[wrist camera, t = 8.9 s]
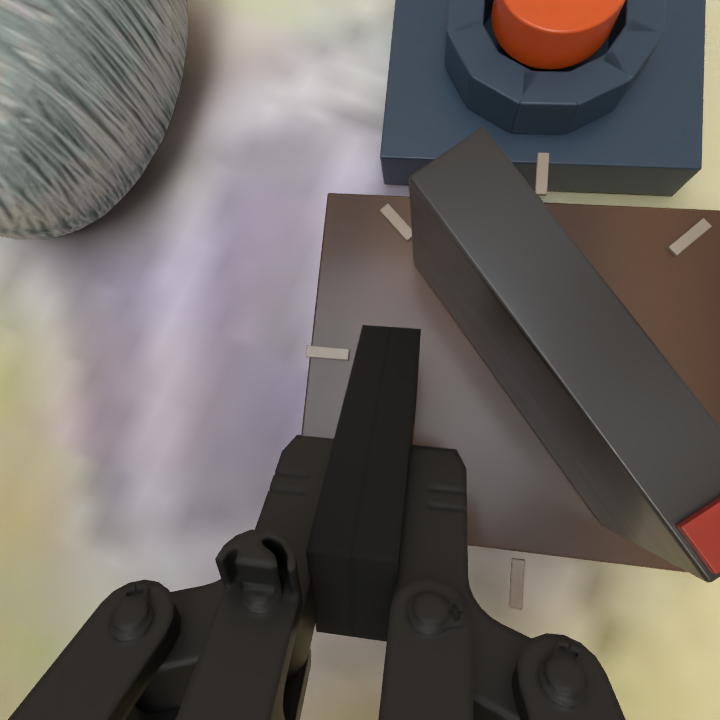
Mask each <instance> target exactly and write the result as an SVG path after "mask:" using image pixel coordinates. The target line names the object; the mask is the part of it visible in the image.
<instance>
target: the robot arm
mask: <svg viewBox="0 0 720 720" xmlns="http://www.w3.org/2000/svg"><path fill="white" fill-rule="evenodd" d="M420 337H421V329H414V328H400V327H386V326H371V325H363V326H362V330H361V333H360V337H359V341H358V345H357V349H356V353H355V357H354V361H353V365H352V369H351V373H350V377H349V381H348V385H347V389H346V393H345V397H344V401H343V405H342V409H341V413H340V417H339V421H338V425H337V429H336V433H335V437H334V439H333V438H322V437H312V436H302V435H297V436H296V437H295V438H294V439H293V440H292V441H291V442H290V443H289V444H288V446H287V447H286V448H285V449H284V450H283V451H282V453H281V456H280V459H279V462H278V465H277V468H276V470H275V475H274V476H273V479H272V482H271V485H270V490H269V491H268V494H267V496H266V499H265V502H264V505H263V508H262V511H261V514H260V517H259V520H258V522H257V525H256V528H255V530H249V531H247V532H244V533H242V534H239V535H236V536H235V537H234V538H233V539H231V540H230V541H229V542H228V543H226V544H225V545H224V546H223V548H222V549H221V551H220V552H219V554H218V556H217V557H216V559H215V560H216V563H217V566H218V569H219V572H220V576H221V579H220V580H218V581H217V582H214V583H211V584H208V585H204V586H200V587H195V588H189V589H184V590H179V591H174V592H170V591H169V590H168V589H167V588H166V587H164V586H163V585H162V584H160V583H159V582H155V581H149V580H141V581H136V582H131V583H128V584H126V585H124V586H122V587H121V588H119V589H117V590H115V591H114V592H112V593H111V594H110V595H109V596H108V597H107V598H106V599H105V600H104V601H103V602H102V603H101V604H100V605H99V607H98V608H97V609H96V610H95V612H94V613H93V614H92V615H91V617H90V618H89V619H88V620H87V622H86V623H85V624H84V625H83V627H82V628H81V629H80V630H79V632H78V633H77V634H76V635H75V637H74V638H73V639H72V640H71V642H70V643H69V644H68V645H67V647H66V648H65V649H64V650H63V652H62V653H61V654H60V655H59V657H58V658H57V659H56V660H55V662H54V663H53V664H52V665H51V667H50V668H49V669H48V670H47V672H46V673H45V674H44V675H43V677H42V678H41V679H40V680H39V682H38V683H37V684H36V685H35V687H34V688H33V689H32V690H31V692H30V693H29V694H28V695H27V697H26V698H25V699H24V700H23V702H22V703H21V704H20V705H19V707H18V708H17V709H16V710H15V712H14V713H13V714H12V715H11V717H10V718H9V719H8V720H300V716H301V711H302V706H303V701H304V696H305V691H306V686H307V681H308V676H309V671H310V666H311V649H310V645H311V640H312V635H313V631H314V626H315V623H316V631H317V632H323V633H330V634H337V635H344V636H351V637H358V638H366V639H373V640H380V641H387V646H386V655H385V664H384V674H383V683H382V692H381V702H380V711H379V720H626V719H625V717H624V715H623V712H622V710H621V708H620V705H619V703H618V700H617V698H616V696H615V693H614V691H613V689H612V686H611V684H610V682H609V679H608V677H607V674H606V673H605V671H604V669H603V668H602V666H601V664H600V663H599V661H598V660H597V658H596V656H595V655H593V654H592V653H591V652H590V651H589V650H588V649H587V648H586V647H585V646H583V645H582V644H581V643H580V642H577V641H575V640H573V639H571V638H569V637H567V636H565V635H558V634H548V633H546V634H543V635H540V636H538V637H535V638H530V637H527V636H525V635H523V634H521V633H519V632H517V631H515V630H513V629H511V628H509V627H507V626H504V625H502V624H501V623H499V622H498V621H496V620H494V619H493V618H491V617H490V616H489V615H488V614H487V613H486V612H485V611H484V610H483V609H481V607H480V606H479V604H478V603H477V601H476V600H475V599H474V597H473V594H472V592H471V589H470V587H469V580H468V552H467V469H466V467H465V465H464V463H463V461H462V459H461V457H460V455H459V453H458V451H457V449H451V448H440V447H430V446H419V445H412V444H413V433H414V423H415V412H416V399H417V383H418V368H419V353H420Z"/></svg>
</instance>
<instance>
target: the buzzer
mask: <svg viewBox="0 0 720 720" xmlns="http://www.w3.org/2000/svg"><path fill="white" fill-rule="evenodd" d="M705 4H706V0H626V1H625V3H624V5H623V7H622V9H621V11H620V14H619V16H618V18H617V20H616V22H615V24H614V26H613V28H612V30H611V33H610V35H609V36H608V38H607V40H606V41H605V43H604V44H603V45H602V46H601V48H599V49H598V50H597V51H596V52H595V53H594V54H593V55H591V56H590V57H589V58H587V59H586V60H584V61H582V62H580V63H578V64H575V65H573V66H570V67H566V68H561V69H550V70H548V69H538V68H533V67H530V66H527V65H524V64H522V63H520V62H518V61H517V60H515V59H513V58H512V57H511V56H510V55H508V54H507V53H506V52H505V51H504V49H503V48H502V47H501V46H500V44H499V43H498V41H497V39H496V37H495V34H494V31H493V28H492V21H491V13H492V6H493V0H396V1H395V11H394V21H393V31H392V42H391V52H390V62H389V72H388V82H387V92H386V103H385V113H384V123H383V133H382V143H381V153H380V159H381V165H382V172H383V178H384V183H385V184H401V185H409V177H410V176H411V175H413V174H414V173H415V172H417V171H418V170H420V169H421V168H423V167H424V166H426V165H427V164H429V163H430V162H432V161H433V160H434V159H436V158H437V157H439V156H440V155H442V154H443V153H445V152H446V151H448V150H449V149H451V148H452V147H453V146H455V145H456V144H458V143H459V142H461V141H462V140H464V139H465V138H467V137H468V136H470V135H471V134H473V133H474V132H475V131H477V130H478V129H480V128H482V127H484V128H485V129H486V130H487V132H488V133H489V134H490V135H491V137H492V138H493V139H494V141H495V142H496V143H497V144H498V146H499V147H500V148H501V149H502V151H503V152H504V153H505V154H506V156H507V157H508V158H509V160H510V161H511V162H512V163H513V165H514V166H515V167H516V168H517V170H518V171H519V172H520V174H521V175H522V176H523V177H524V179H525V180H526V181H527V182H528V184H529V185H530V186H531V187H532V189H533V190H535V180H536V164H537V154H538V153H549V166H548V183H547V191H568V192H592V193H616V194H640V195H664V196H672V195H674V194H675V193H676V192H677V191H678V190H679V189H680V188H681V187H682V186H683V185H684V184H685V183H687V182H688V181H689V180H690V179H691V178H692V177H693V176H694V175H695V174H696V173H697V172H698V171H699V170H700V169H701V164H702V124H703V84H704V44H705Z"/></svg>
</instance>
